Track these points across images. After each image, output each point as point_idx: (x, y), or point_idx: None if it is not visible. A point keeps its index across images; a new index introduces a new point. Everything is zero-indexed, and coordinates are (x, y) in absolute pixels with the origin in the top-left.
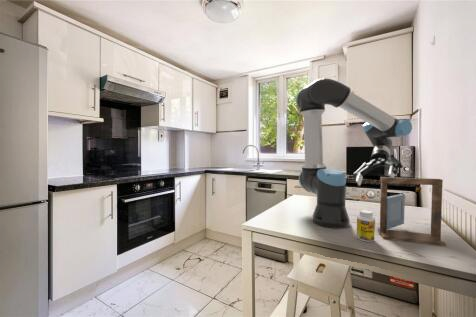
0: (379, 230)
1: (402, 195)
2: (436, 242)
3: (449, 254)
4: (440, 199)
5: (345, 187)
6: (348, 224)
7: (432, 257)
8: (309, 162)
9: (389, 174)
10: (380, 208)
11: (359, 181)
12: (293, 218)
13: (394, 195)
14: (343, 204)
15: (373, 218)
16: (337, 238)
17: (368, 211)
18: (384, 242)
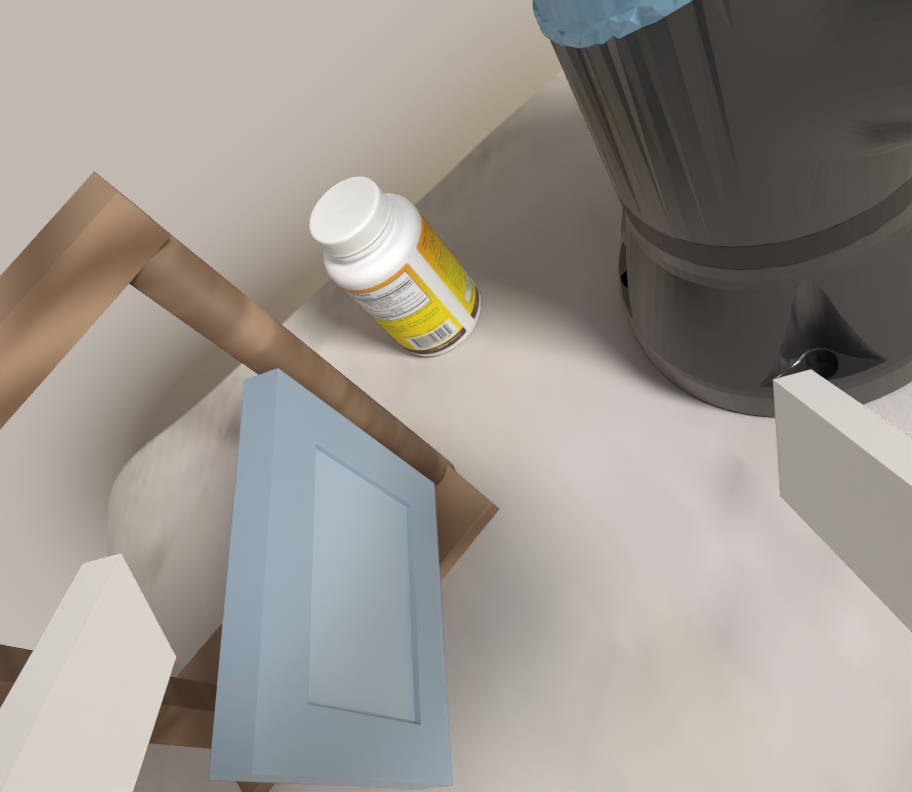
0: (457, 473)
1: (219, 709)
2: (208, 641)
3: (166, 576)
4: None
5: (582, 87)
6: (639, 341)
7: (201, 465)
8: None
9: (105, 561)
10: (338, 371)
11: (815, 476)
12: None
13: (258, 580)
14: (619, 198)
15: (325, 258)
16: (514, 185)
17: (335, 224)
18: (372, 390)
